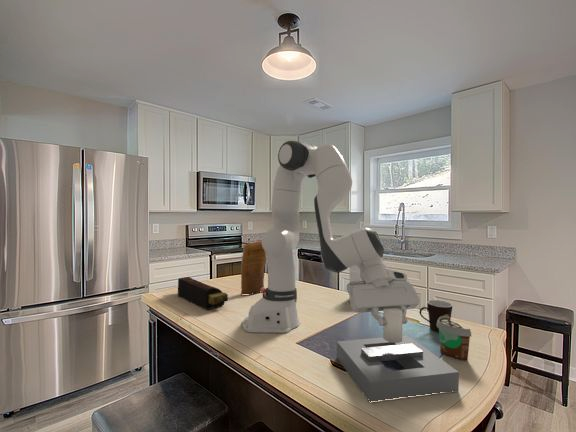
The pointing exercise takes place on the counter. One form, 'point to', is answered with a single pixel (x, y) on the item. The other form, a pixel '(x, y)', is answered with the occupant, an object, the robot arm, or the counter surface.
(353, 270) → the milk carton
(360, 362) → the gray square frame block
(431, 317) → the coffee mug
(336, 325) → the counter surface
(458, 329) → the food container
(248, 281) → the pancake mix bag
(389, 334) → the tapered cream cylinder
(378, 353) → the flat gray rectangular bar
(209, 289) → the packaged item
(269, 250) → the robot arm
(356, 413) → the counter surface
